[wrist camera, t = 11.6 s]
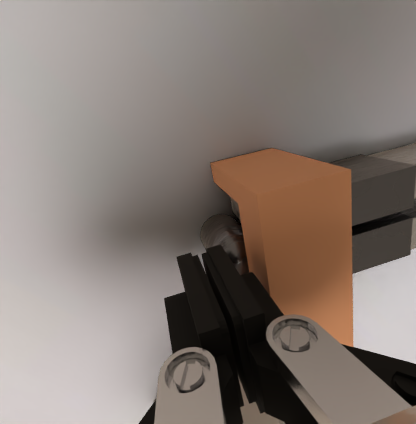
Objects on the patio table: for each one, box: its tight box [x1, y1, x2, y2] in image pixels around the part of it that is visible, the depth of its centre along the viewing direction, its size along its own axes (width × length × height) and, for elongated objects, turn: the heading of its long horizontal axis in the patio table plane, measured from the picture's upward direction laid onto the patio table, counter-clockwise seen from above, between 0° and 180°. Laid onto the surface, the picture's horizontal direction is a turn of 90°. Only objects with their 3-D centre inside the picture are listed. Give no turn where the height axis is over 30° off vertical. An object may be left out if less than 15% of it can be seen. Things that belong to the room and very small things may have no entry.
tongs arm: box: [352, 198, 416, 274], centre depth 15 cm, size 17×2×3 cm, turn 101°
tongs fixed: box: [200, 143, 416, 275], centre depth 14 cm, size 19×3×3 cm, turn 101°
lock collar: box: [211, 148, 353, 347], centre depth 12 cm, size 3×7×5 cm, turn 11°
